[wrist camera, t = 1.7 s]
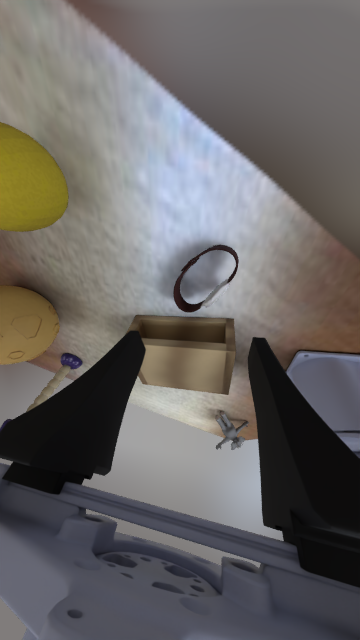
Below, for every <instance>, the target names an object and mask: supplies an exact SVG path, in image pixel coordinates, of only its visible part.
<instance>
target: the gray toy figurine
mask: <svg viewBox="0 0 360 640" xmlns="http://www.w3.org/2000/svg"><path fill="white" fill-rule="evenodd" d="M220 414H221V416H222V417H223V419H224V421H225V422H226V423H225V422H224V421H223V420H222V418H221V419H220V418H219V416H216V417H215V419H216V421H217V422H218V423H219V425H220V426H221V428H222V431H223V433H224V435H225V436H226V437H225V438H224V439H223V441H222V442H220V443H219V444H218V445H217V446H216V449H218V448H220V449H221V445H222V444H224V443H226V442H228V441H229V440H233V442H232V444H231V446H232V450H234V449H235V448H236V447H237V448H238V447H241V444H242V442H244V440H245V438H243V437H238V438H237V434H238V433H239V432H240V430H241V429H242V428H243V427H244V426H246V427H248V426H247V424H249V422H248V421H246V422H244V423H243V424H242V425H241V426H240V427H238V428H237V429H235V427H234V425H233V424H232V423H230V421H229V420H228V418H227V417H226V415H225V413H224V412H223V411H221V412H220ZM221 420H222V421H221Z"/></svg>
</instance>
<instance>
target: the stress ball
mask: <svg viewBox="0 0 360 640" xmlns="http://www.w3.org/2000/svg"><path fill="white" fill-rule="evenodd" d="M59 328H60V326H59V319H58V316H57V313H56V311H55V309H54V307H53V306H52V305H51V303H50V302H49V301H48V300H46V299H45V298H44V297H42V296H41V295H39V294H38V293H36V292H34V291H31V290H29V289H25V288H22V287H17V286H7V285H0V364H3V365H5V364H14V363H19V362H23V361H27V362H28V361H30V360H32V359H34V358H36V357H38V356H40V355H41V354H43V353H44V352H46V349H47V348H48V347H49V346H50V345H51V344H52V343H53V341H54V340H55V338H56V336H57V333H58V332H59Z"/></svg>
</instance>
